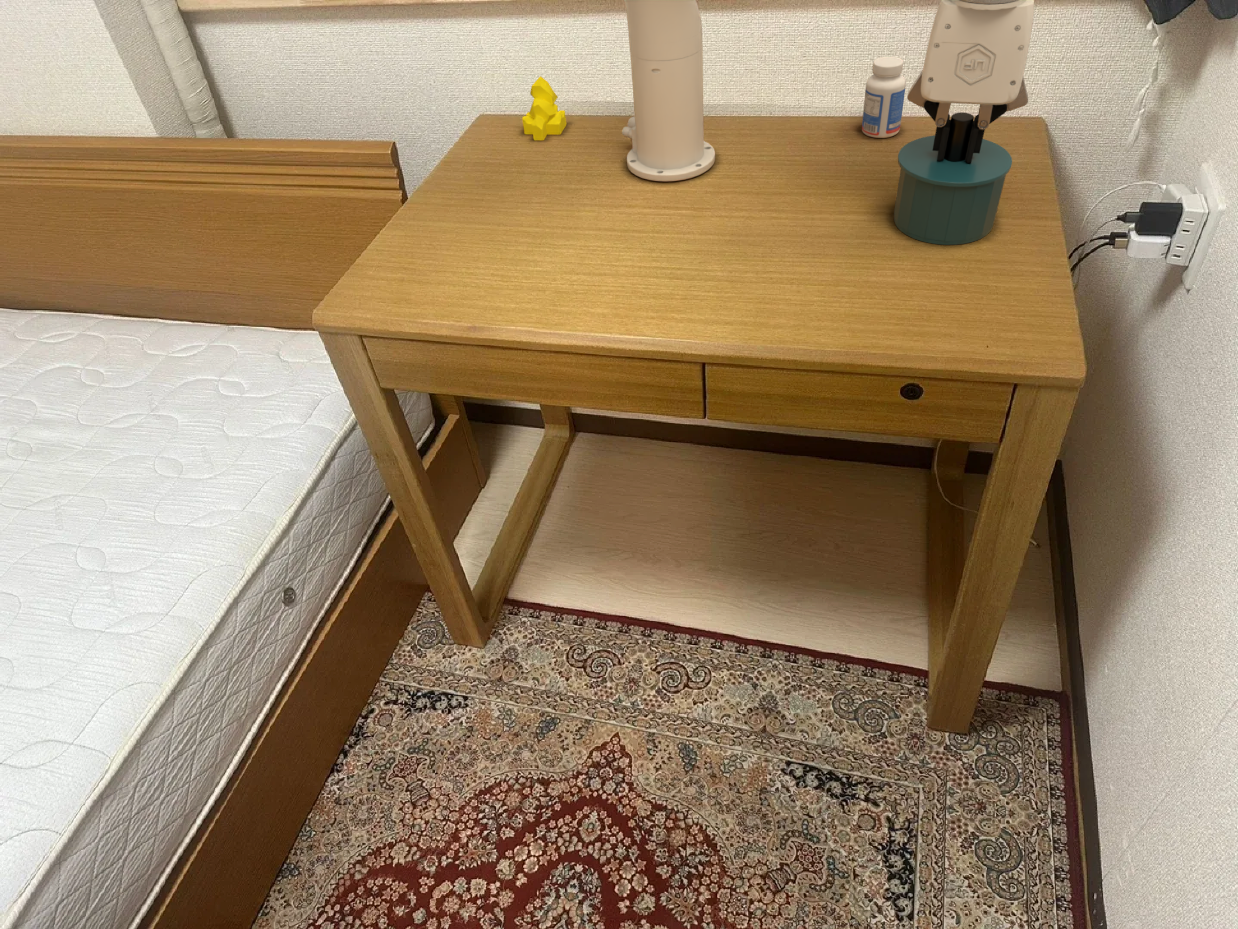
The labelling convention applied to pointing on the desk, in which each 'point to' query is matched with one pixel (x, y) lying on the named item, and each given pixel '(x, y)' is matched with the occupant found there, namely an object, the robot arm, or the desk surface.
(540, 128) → the yellow irregular lump
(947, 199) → the tin
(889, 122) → the pill bottle
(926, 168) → the lid
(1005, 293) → the desk surface
